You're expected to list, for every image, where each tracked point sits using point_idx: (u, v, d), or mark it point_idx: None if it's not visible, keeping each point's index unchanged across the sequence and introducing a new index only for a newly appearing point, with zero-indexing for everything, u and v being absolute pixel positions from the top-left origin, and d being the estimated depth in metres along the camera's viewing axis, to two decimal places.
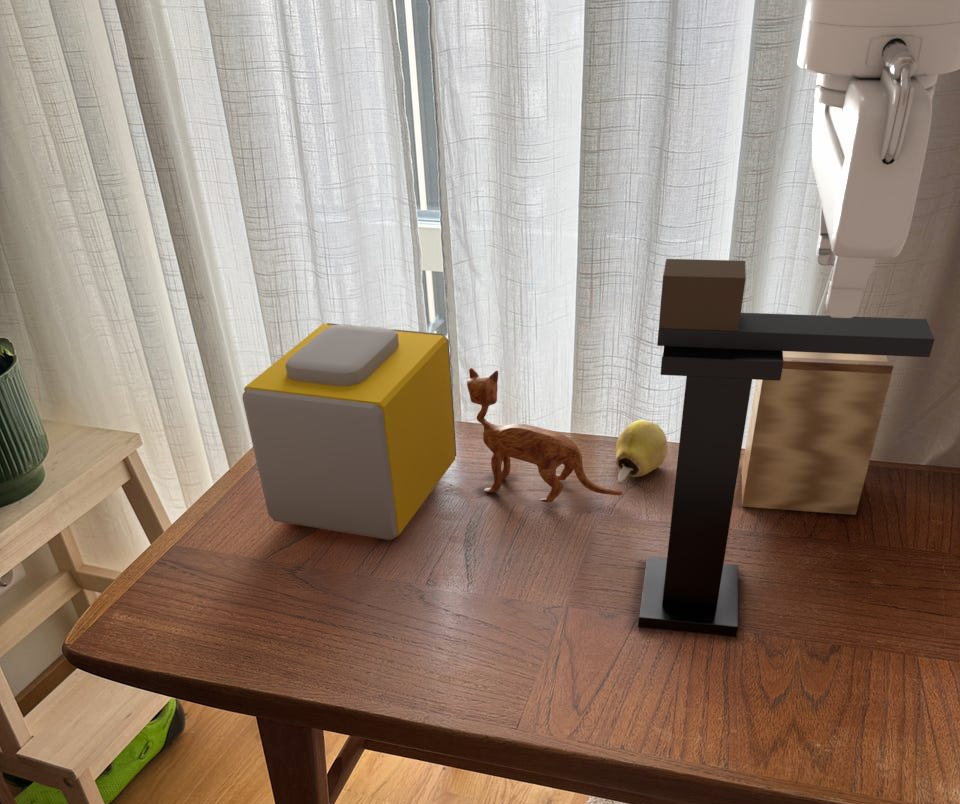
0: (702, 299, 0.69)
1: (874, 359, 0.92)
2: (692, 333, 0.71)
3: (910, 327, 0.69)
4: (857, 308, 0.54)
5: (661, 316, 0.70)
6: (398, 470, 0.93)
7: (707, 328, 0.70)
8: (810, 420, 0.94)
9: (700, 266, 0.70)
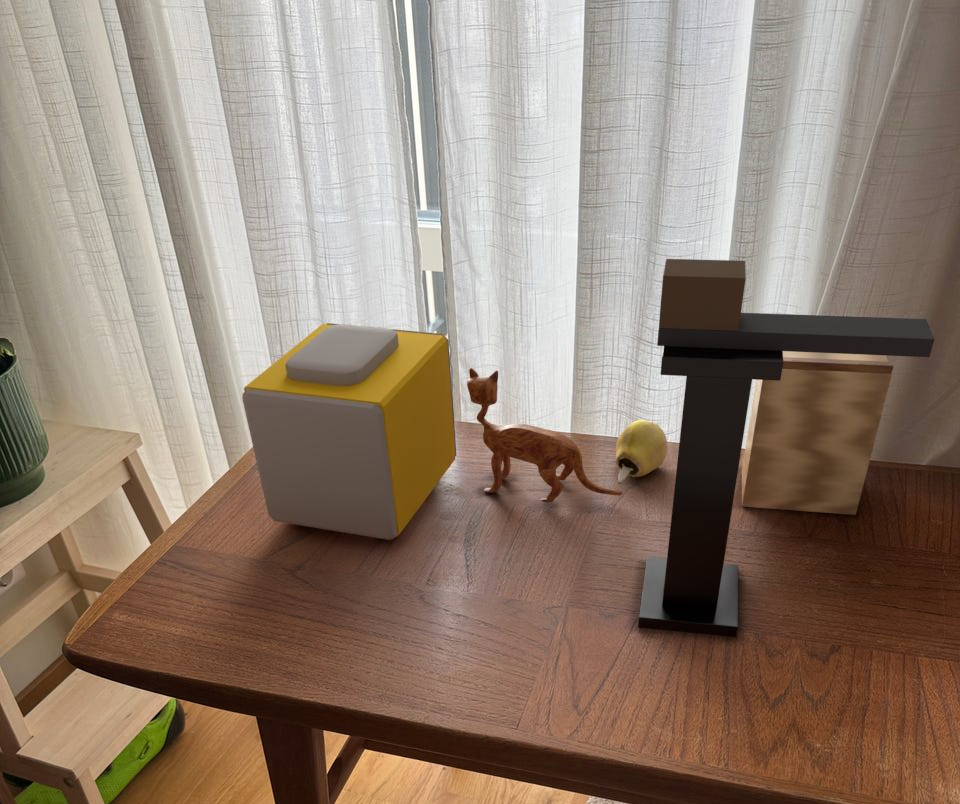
0: (702, 299, 0.69)
1: (874, 359, 0.92)
2: (692, 333, 0.71)
3: (910, 327, 0.69)
4: None
5: (661, 316, 0.70)
6: (398, 470, 0.93)
7: (707, 328, 0.70)
8: (810, 420, 0.94)
9: (700, 266, 0.70)
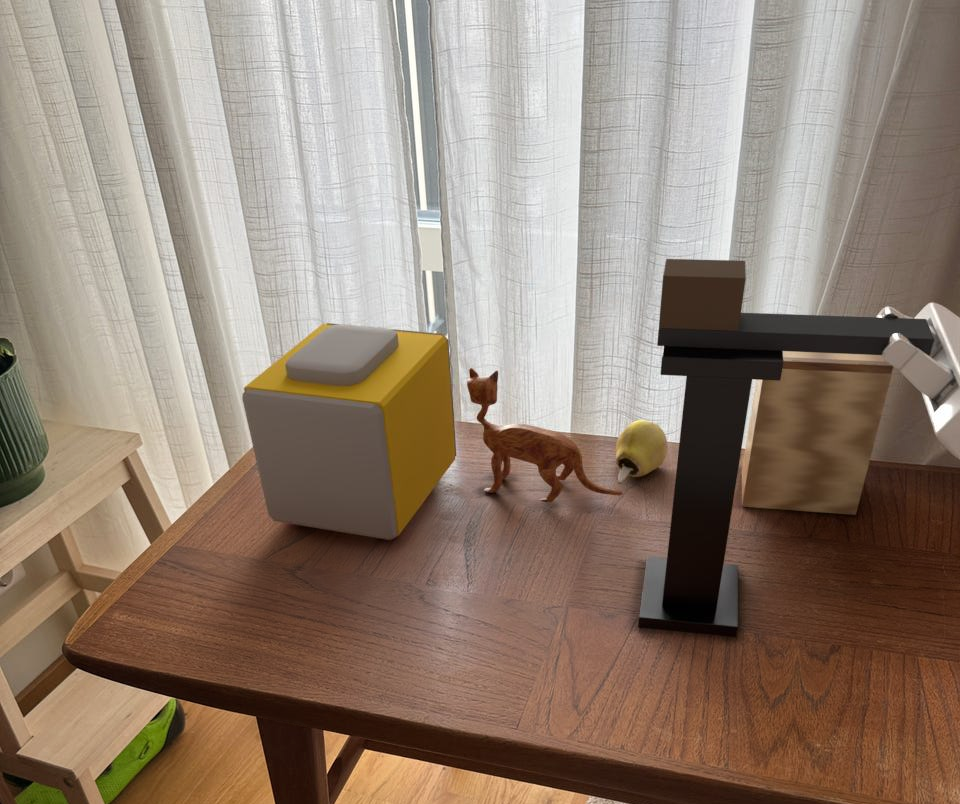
0: (702, 299, 0.69)
1: (874, 359, 0.92)
2: (693, 333, 0.71)
3: (910, 327, 0.69)
4: None
5: (661, 316, 0.70)
6: (398, 470, 0.93)
7: (707, 328, 0.70)
8: (810, 420, 0.94)
9: (700, 266, 0.70)
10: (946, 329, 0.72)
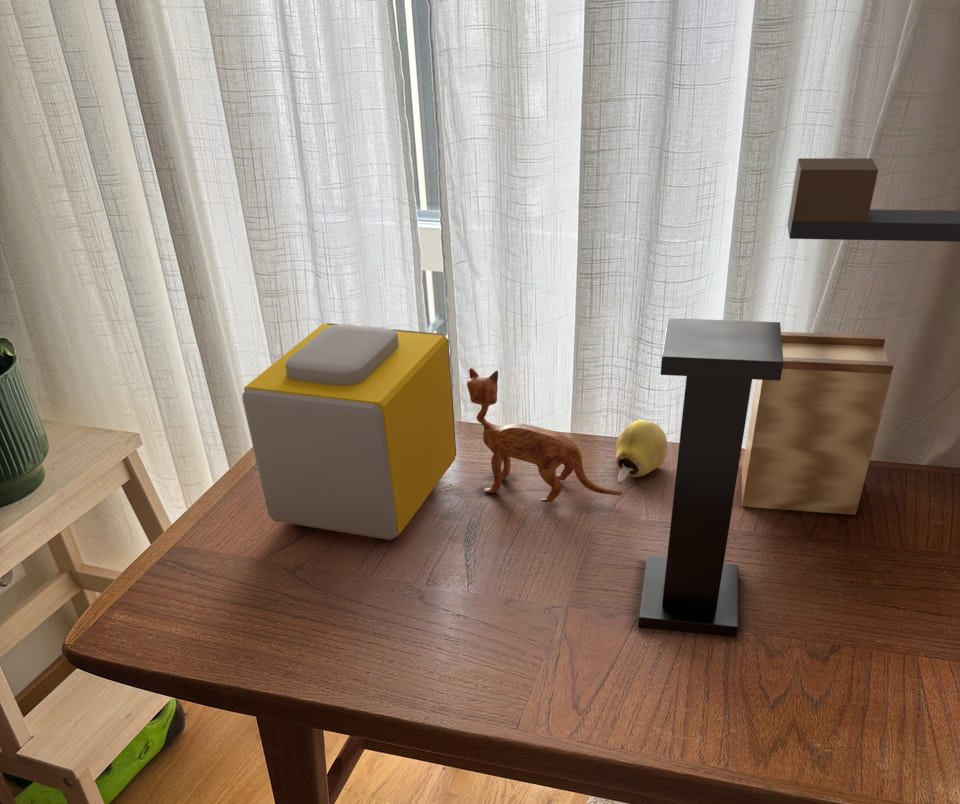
0: (836, 192, 0.75)
1: (874, 359, 0.92)
2: (824, 225, 0.77)
3: None
4: None
5: (796, 209, 0.77)
6: (398, 470, 0.93)
7: (838, 220, 0.77)
8: (810, 420, 0.94)
9: (832, 163, 0.76)
10: None
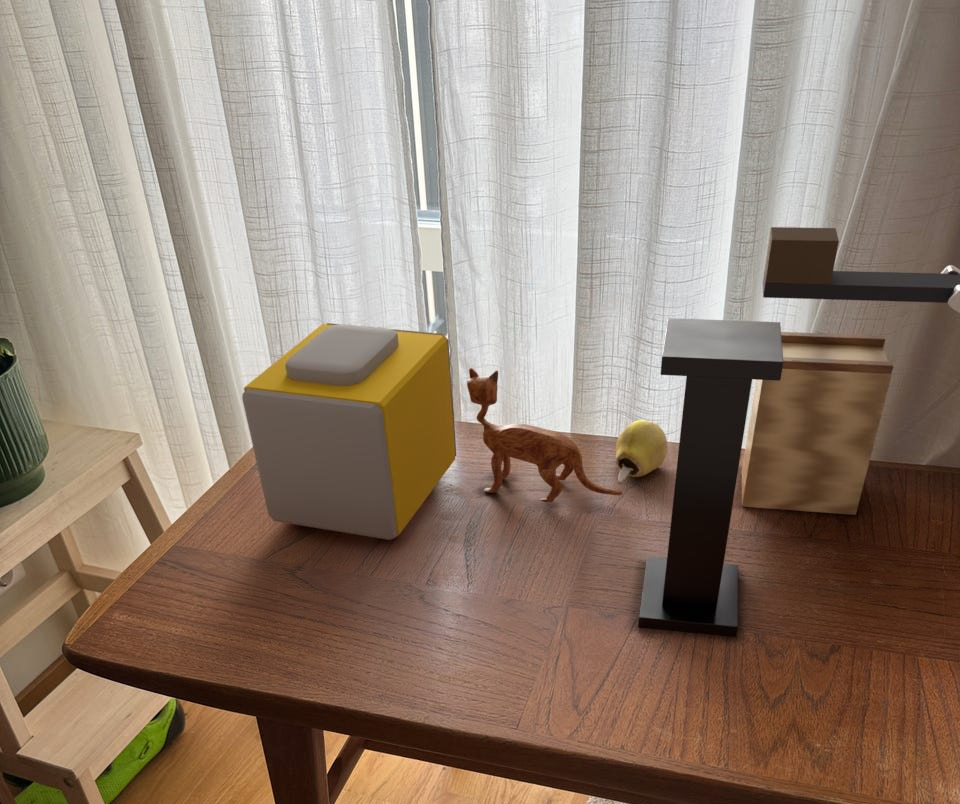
0: (802, 259, 0.86)
1: (874, 359, 0.92)
2: (793, 287, 0.88)
3: None
4: None
5: (768, 273, 0.88)
6: (398, 470, 0.93)
7: (805, 282, 0.88)
8: (810, 420, 0.94)
9: (800, 233, 0.87)
10: None
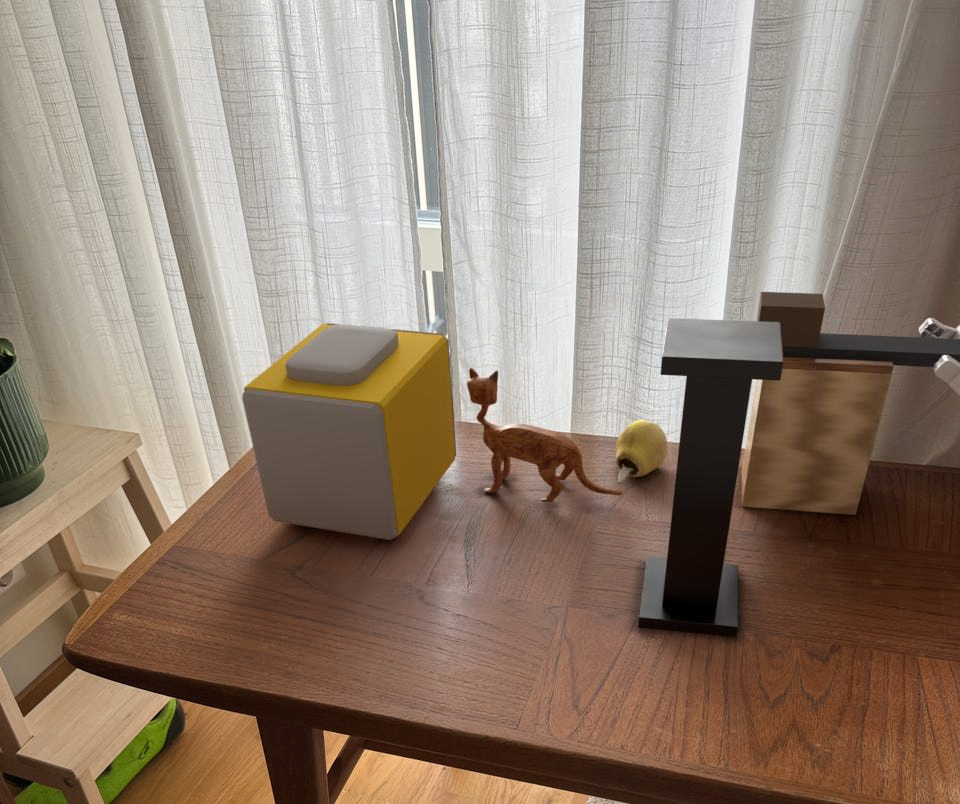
0: (790, 323, 0.90)
1: None
2: None
3: (950, 345, 0.90)
4: (933, 319, 0.94)
5: None
6: (398, 470, 0.93)
7: (793, 345, 0.91)
8: (810, 420, 0.94)
9: (789, 298, 0.91)
10: None
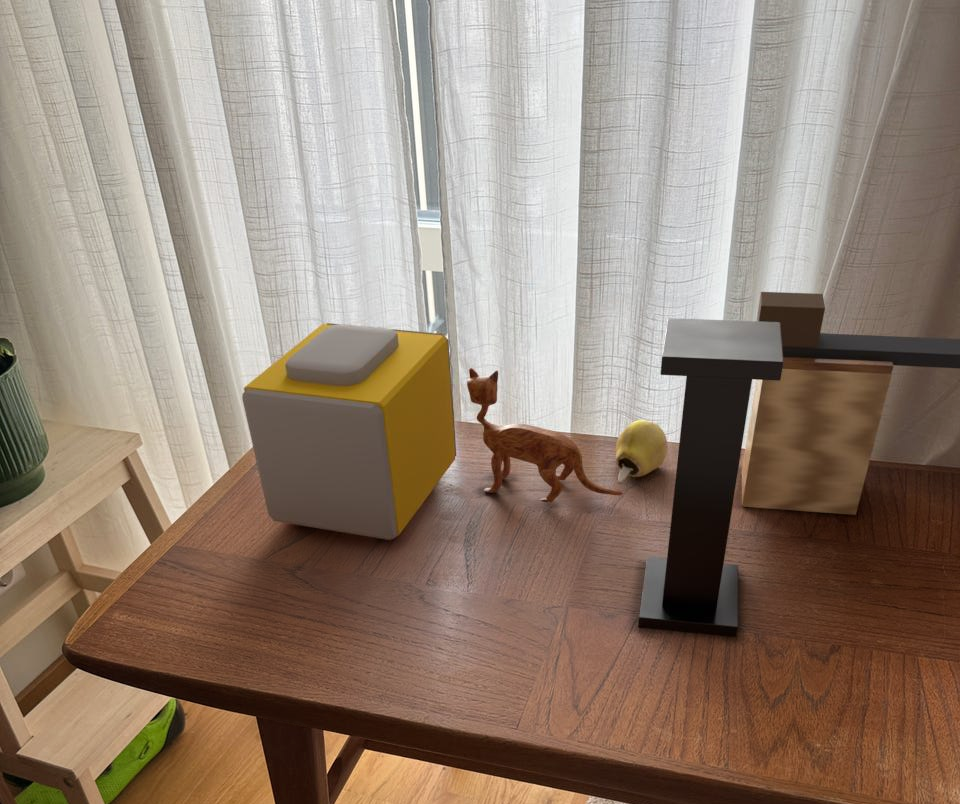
0: (790, 323, 0.90)
1: None
2: None
3: (950, 345, 0.90)
4: None
5: None
6: (398, 470, 0.93)
7: (793, 345, 0.91)
8: (810, 420, 0.94)
9: (789, 298, 0.91)
10: None
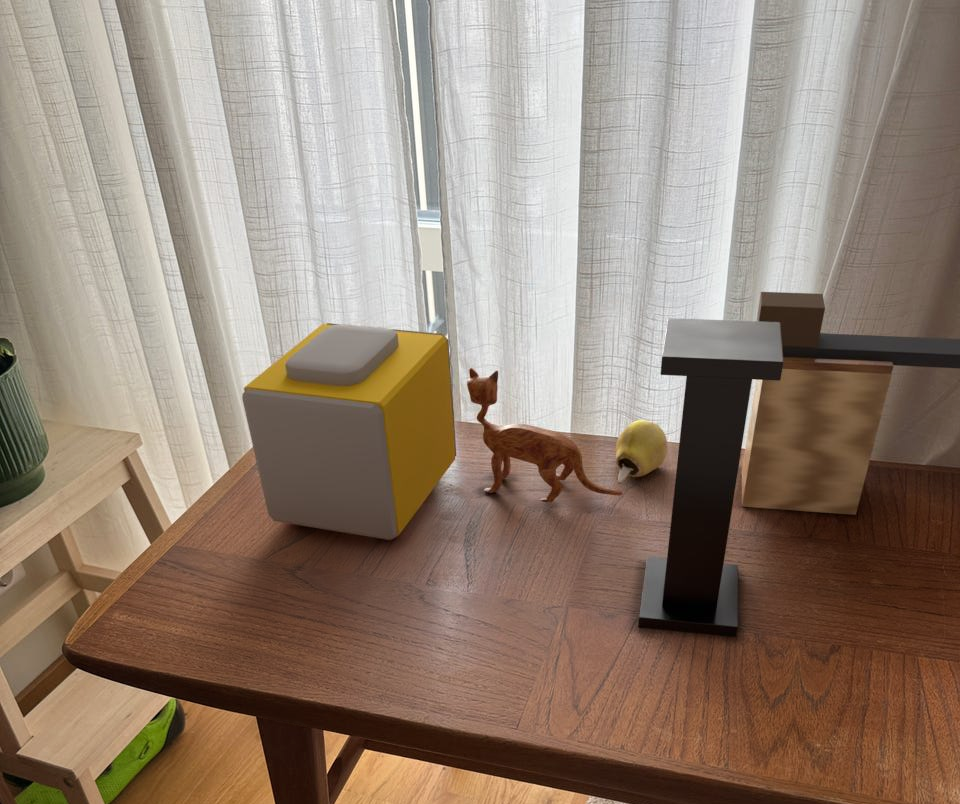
0: (790, 323, 0.90)
1: None
2: None
3: (950, 345, 0.90)
4: None
5: None
6: (398, 470, 0.93)
7: (793, 345, 0.91)
8: (810, 420, 0.94)
9: (789, 298, 0.91)
10: None
